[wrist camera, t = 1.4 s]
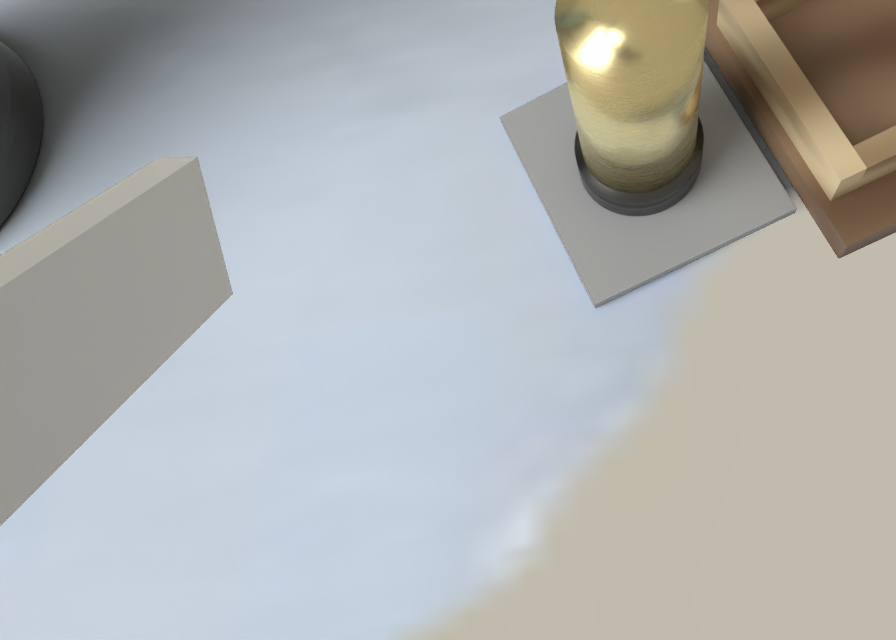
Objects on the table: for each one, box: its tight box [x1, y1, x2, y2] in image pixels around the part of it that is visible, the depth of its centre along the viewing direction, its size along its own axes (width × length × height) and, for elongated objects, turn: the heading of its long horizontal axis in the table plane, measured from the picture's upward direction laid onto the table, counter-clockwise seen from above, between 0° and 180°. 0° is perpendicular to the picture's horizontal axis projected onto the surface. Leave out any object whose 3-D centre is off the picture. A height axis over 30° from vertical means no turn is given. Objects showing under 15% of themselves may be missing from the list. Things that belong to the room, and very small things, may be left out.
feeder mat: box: [500, 61, 797, 308], centre depth 35 cm, size 10×9×1 cm
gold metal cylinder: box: [555, 0, 709, 216], centre depth 30 cm, size 5×5×11 cm
